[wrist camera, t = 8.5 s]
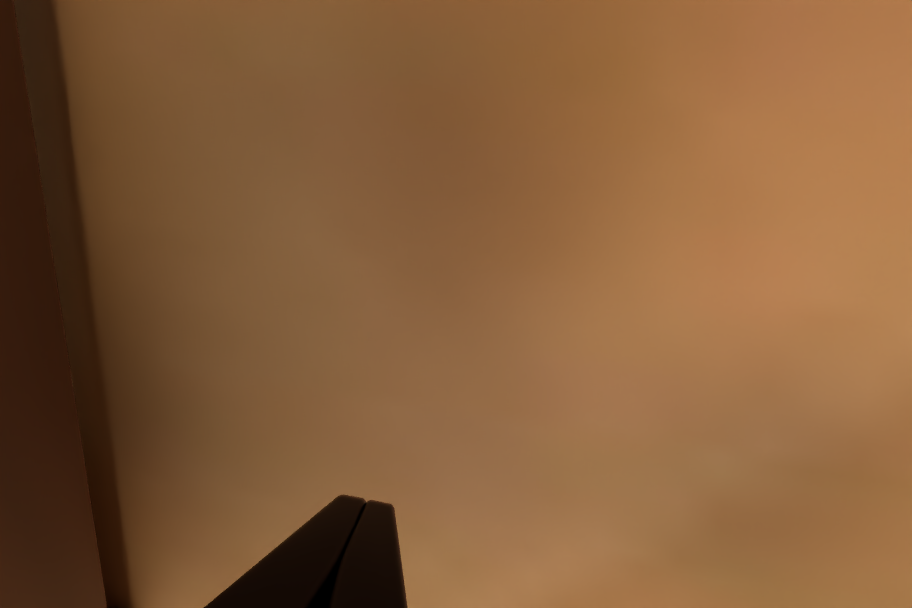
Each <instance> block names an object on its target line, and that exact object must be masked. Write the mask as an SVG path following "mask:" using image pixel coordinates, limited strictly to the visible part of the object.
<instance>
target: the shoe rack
mask: <svg viewBox="0 0 912 608" xmlns="http://www.w3.org/2000/svg"><path fill="white" fill-rule="evenodd" d="M0 608H107V603H106V597H105V590H104V584H103V577H102V571H101V564H100V558H99V551H98V545H97V539H96V532H95V526H94V519H93V513H92V506H91V500H90V493H89V487H88V480H87V474H86V467H85V461H84V454H83V448H82V441H81V435H80V428H79V422H78V415H77V409H76V403H75V396H74V390H73V383H72V377H71V370H70V364H69V357H68V351H67V344H66V338H65V331H64V325H63V318H62V312H61V305H60V299H59V292H58V286H57V279H56V273H55V266H54V260H53V254H52V247H51V241H50V234H49V228H48V221H47V215H46V208H45V202H44V195H43V189H42V182H41V176H40V169H39V163H38V156H37V150H36V143H35V137H34V130H33V124H32V118H31V111H30V105H29V98H28V92H27V85H26V79H25V72H24V66H23V59H22V53H21V46H20V40H19V33H18V27H17V20H16V14H15V7H14V1H13V0H0Z"/></svg>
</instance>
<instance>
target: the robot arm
mask: <svg viewBox="0 0 912 608" xmlns="http://www.w3.org/2000/svg"><path fill="white" fill-rule="evenodd" d="M204 608H407V601H406V593H405V585H404V578H403V570H402V563H401V555H400V548H399V540H398V533H397V525H396V518H395V510H394V507H393V505H392V504H389V503H384V502H379V501H374V500H370V501H368V502H367V503H366V501H365V499H363V498H359V497H354V496H349V495H340V496H338V497H336V498H335V499H334V500H333V501H332V502H330V503H329V504H328V505H327V506H326V507H324V508H323V509H322V510H321V511H320V512H318V513H317V514H316V515H315V516H314V517H312V518H311V519H310V520H309V521H308V522H306V523H305V524H304V525H303V526H302V527H300V528H299V529H298V530H297V531H296V532H294V533H293V534H292V535H291V536H290V537H288V538H287V539H286V540H285V541H284V542H282V543H281V544H280V545H279V546H278V547H276V548H275V549H274V550H273V551H271V552H270V553H269V554H268V555H267V556H265V557H264V558H263V559H262V560H261V561H259V562H258V563H257V564H256V565H255V566H253V567H252V568H251V569H250V570H249V571H247V572H246V573H245V574H244V575H243V576H241V577H240V578H239V579H238V580H237V581H235V582H234V583H233V584H232V585H231V586H229V587H228V588H227V589H226V590H225V591H223V592H222V593H221V594H220V595H219V596H217V597H216V598H215V599H214V600H213V601H211V602H210V603H209V604H208V605H206V606H205V607H204Z"/></svg>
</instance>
